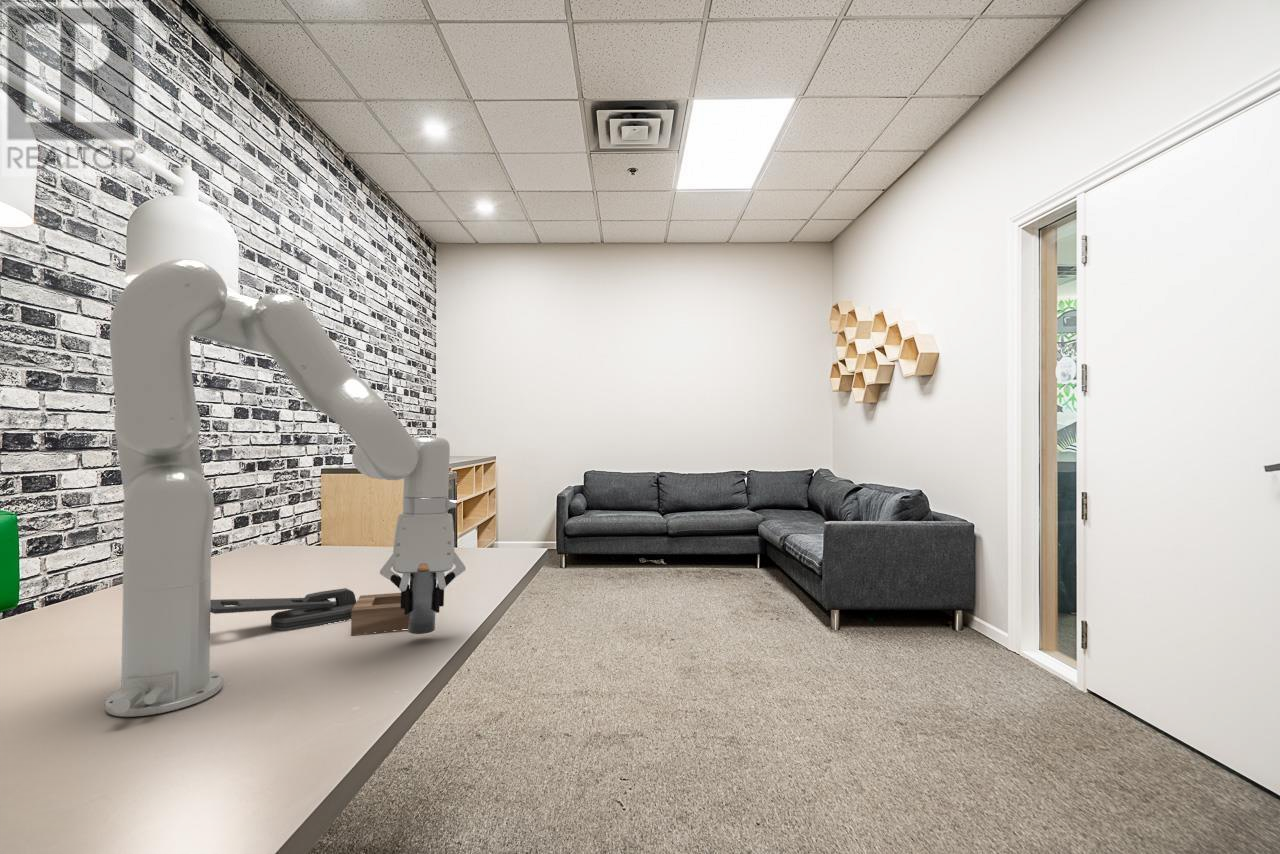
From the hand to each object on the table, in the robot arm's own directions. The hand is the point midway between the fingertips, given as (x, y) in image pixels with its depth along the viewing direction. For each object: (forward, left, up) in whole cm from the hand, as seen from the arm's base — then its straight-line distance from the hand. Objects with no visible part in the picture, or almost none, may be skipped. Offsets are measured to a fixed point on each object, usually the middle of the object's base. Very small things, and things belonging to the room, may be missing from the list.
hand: (422, 610), depth 105 cm
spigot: (0, 0, -3) cm, 3 cm away
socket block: (+13, +6, -5) cm, 15 cm away
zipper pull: (+17, +25, -6) cm, 31 cm away
